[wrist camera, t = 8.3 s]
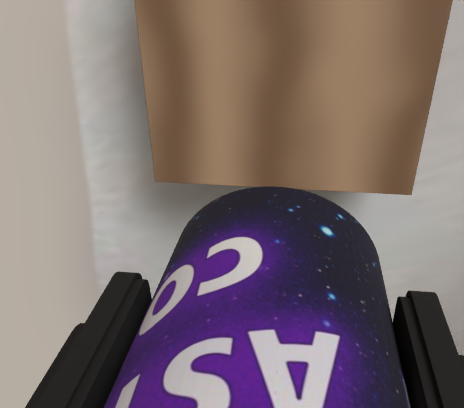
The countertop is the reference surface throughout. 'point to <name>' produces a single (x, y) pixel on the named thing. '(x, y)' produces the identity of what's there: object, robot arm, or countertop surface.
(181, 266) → the beverage can
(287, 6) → the walnut block
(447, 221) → the countertop surface
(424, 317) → the robot arm
